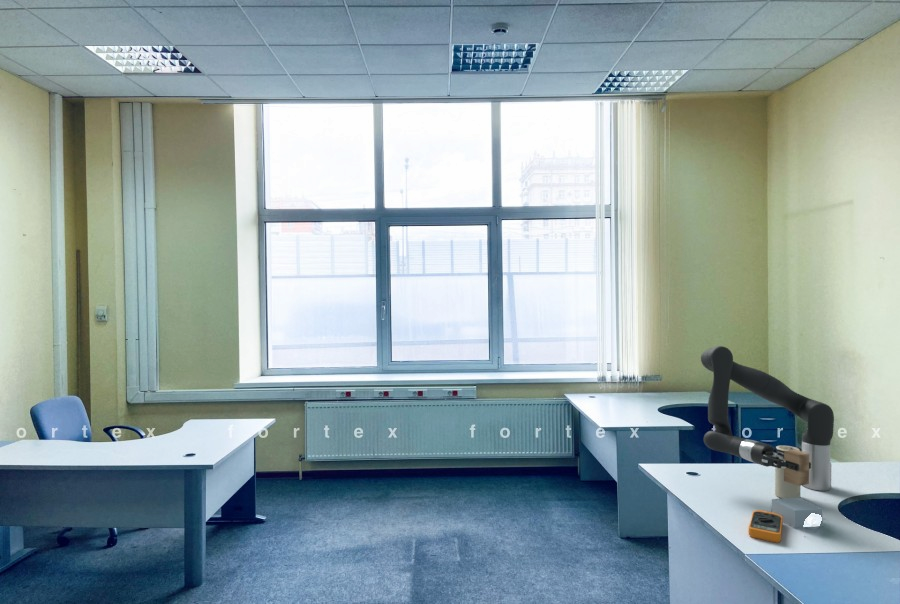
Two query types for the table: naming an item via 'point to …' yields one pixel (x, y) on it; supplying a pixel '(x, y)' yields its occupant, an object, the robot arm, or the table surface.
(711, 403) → the robot arm
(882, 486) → the table surface
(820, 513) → the slate box
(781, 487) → the travel mug
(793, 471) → the walnut block
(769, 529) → the multimeter
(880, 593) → the table surface
